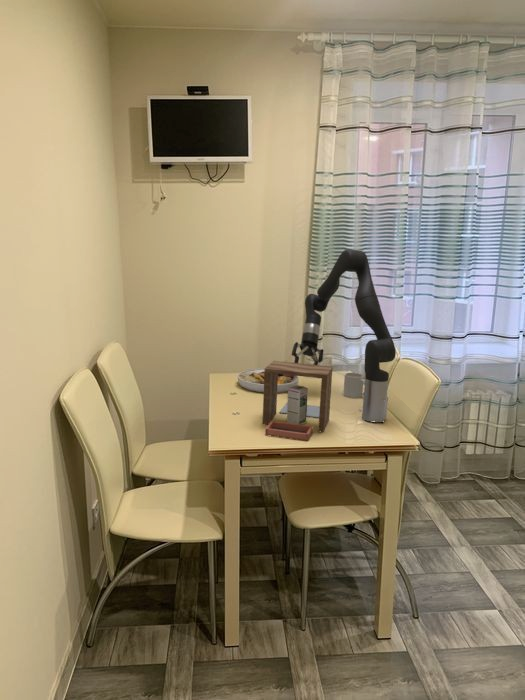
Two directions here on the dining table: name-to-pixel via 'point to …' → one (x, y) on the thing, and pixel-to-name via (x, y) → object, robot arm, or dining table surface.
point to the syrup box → (297, 405)
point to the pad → (311, 411)
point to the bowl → (256, 380)
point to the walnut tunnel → (296, 370)
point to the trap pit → (289, 430)
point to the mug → (353, 385)
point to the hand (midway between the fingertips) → (305, 367)
